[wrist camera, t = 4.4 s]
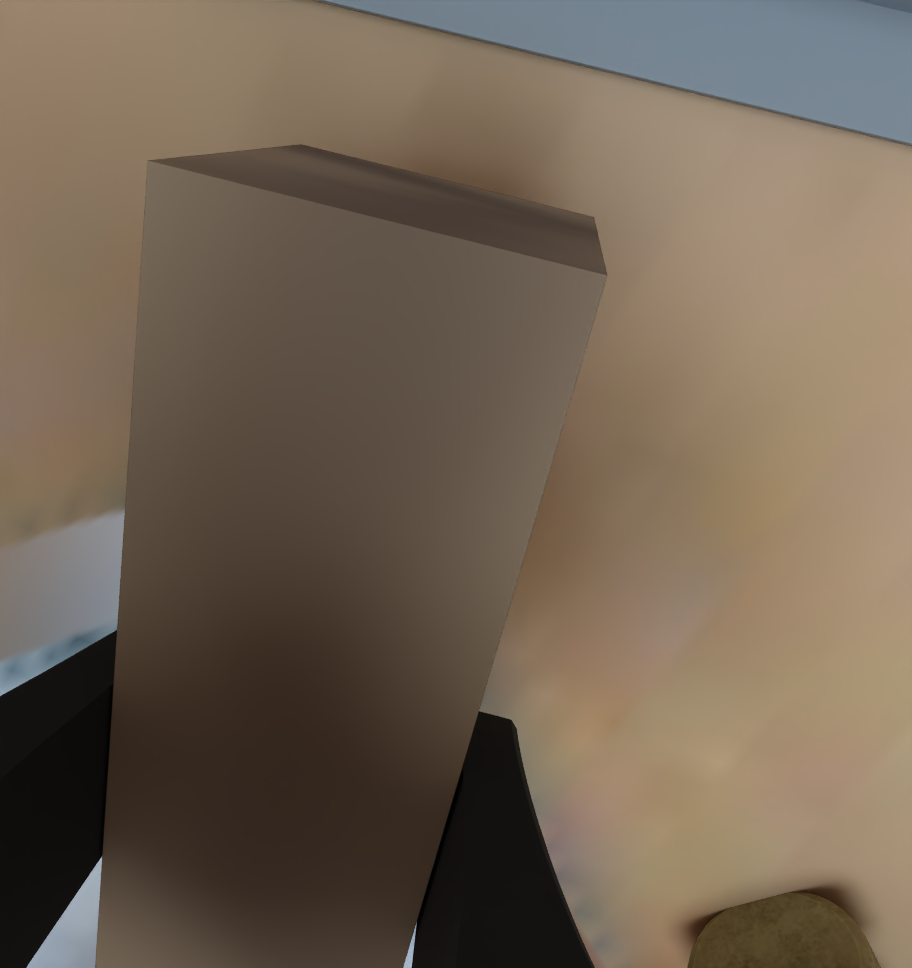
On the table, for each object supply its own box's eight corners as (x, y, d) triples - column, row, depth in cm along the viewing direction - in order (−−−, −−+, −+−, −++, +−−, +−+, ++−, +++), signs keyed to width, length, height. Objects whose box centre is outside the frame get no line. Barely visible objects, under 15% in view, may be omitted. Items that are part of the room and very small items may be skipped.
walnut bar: (201, 875, 17) (85, 1116, 13) (301, 144, 11) (148, 160, 7) (394, 928, 17) (338, 1185, 13) (593, 216, 11) (607, 275, 7)
